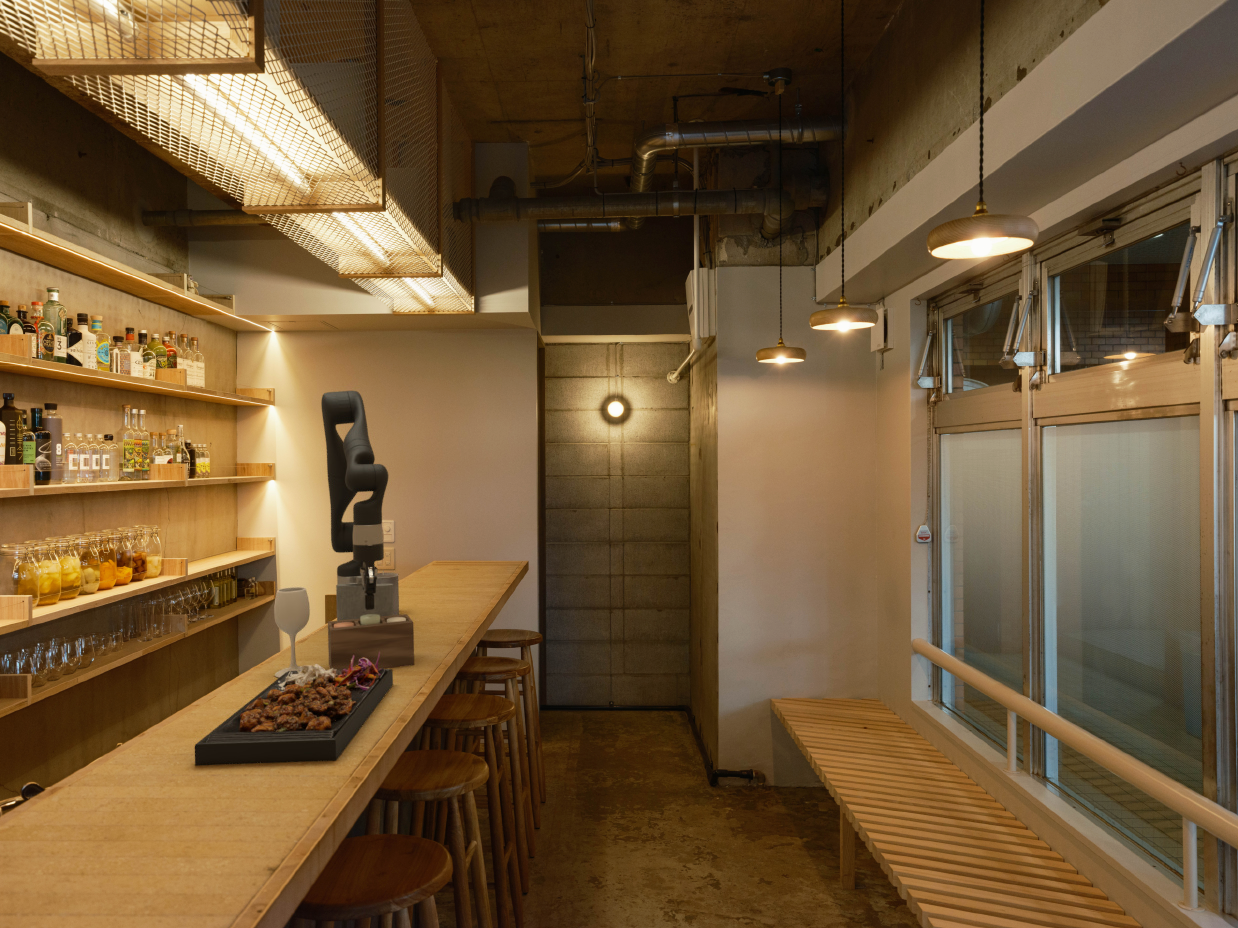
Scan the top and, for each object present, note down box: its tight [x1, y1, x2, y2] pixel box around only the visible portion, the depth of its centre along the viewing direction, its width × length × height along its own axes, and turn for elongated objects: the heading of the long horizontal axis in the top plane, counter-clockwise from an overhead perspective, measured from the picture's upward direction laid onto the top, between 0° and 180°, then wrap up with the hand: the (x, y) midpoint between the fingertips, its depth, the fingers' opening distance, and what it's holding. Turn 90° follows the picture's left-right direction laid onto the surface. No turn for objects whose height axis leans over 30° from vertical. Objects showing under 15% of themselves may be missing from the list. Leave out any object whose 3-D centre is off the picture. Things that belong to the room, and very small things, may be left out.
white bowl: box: [273, 586, 311, 678], centre depth 199 cm, size 9×9×21 cm
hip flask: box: [335, 576, 394, 621], centre depth 224 cm, size 16×4×20 cm, turn 87°
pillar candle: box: [377, 570, 400, 615], centre depth 265 cm, size 10×10×15 cm
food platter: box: [194, 652, 394, 767], centre depth 165 cm, size 45×25×10 cm, turn 3°
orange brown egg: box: [334, 622, 354, 628], centre depth 204 cm, size 5×5×4 cm
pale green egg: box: [360, 614, 380, 625], centre depth 206 cm, size 5×5×4 cm
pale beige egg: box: [387, 617, 406, 623], centre depth 209 cm, size 5×5×4 cm
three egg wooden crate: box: [327, 613, 415, 670], centre depth 206 cm, size 11×20×11 cm, turn 113°
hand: (369, 609), depth 206 cm, fingers closed
